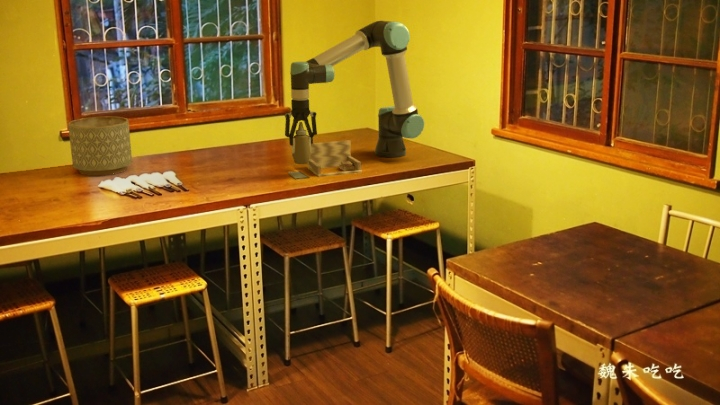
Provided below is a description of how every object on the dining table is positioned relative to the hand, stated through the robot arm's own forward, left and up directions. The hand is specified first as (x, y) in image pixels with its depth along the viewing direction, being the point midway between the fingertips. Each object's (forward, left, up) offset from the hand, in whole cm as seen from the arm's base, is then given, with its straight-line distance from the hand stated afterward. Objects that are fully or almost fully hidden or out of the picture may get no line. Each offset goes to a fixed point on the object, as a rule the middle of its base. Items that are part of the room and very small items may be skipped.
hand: (301, 151), depth 343 cm
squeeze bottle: (0, 0, -5) cm, 5 cm away
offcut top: (-21, 0, -8) cm, 22 cm away
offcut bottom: (-21, 0, -11) cm, 24 cm away
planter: (+80, -44, -11) cm, 92 cm away
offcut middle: (-21, 0, -10) cm, 23 cm away
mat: (0, 0, -10) cm, 10 cm away
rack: (-15, 0, -10) cm, 18 cm away
